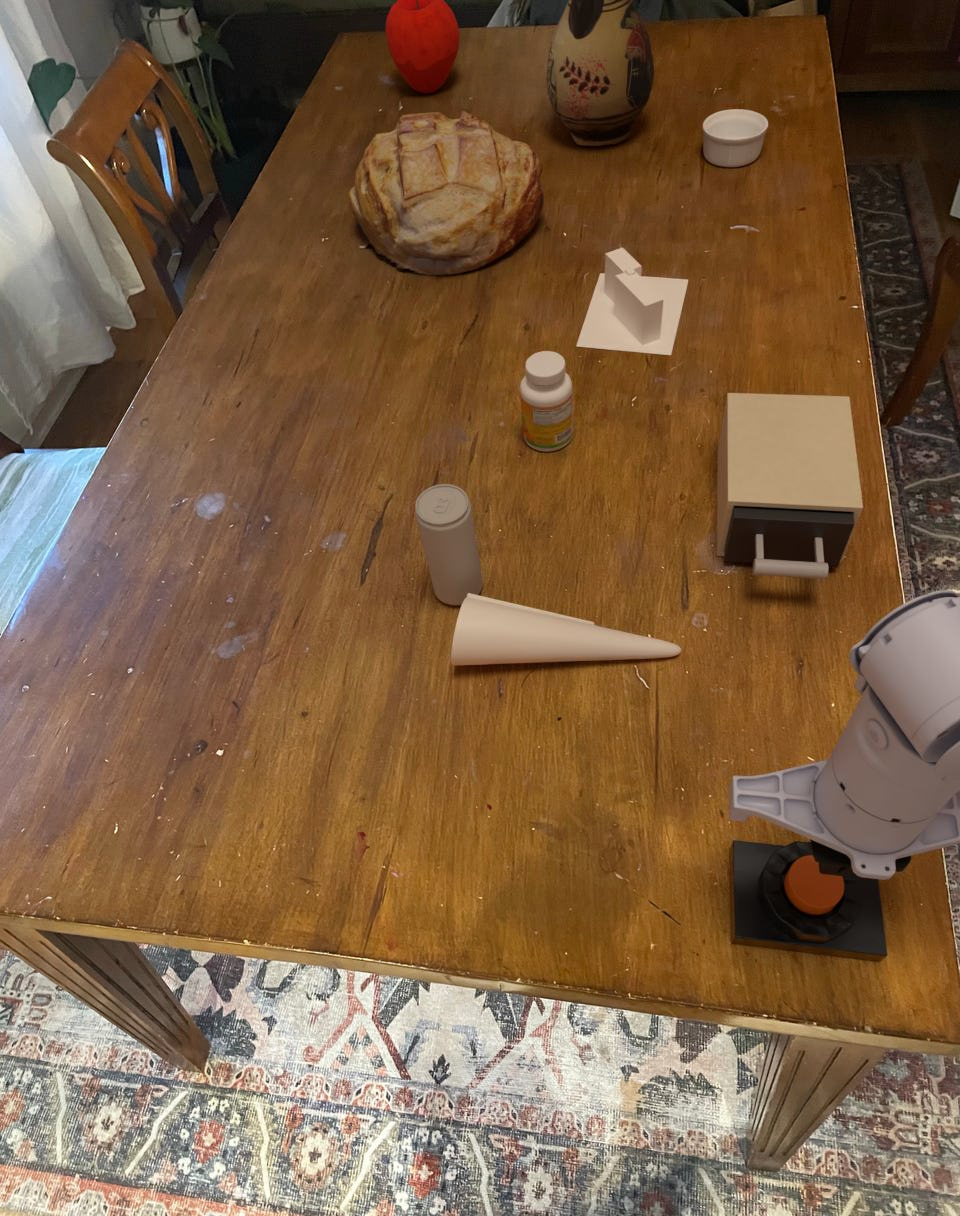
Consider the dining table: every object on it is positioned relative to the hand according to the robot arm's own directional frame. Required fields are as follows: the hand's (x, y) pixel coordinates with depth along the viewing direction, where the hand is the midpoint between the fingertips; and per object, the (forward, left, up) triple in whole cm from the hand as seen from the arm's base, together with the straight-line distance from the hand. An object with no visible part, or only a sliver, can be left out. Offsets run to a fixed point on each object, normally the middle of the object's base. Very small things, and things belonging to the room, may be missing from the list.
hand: (829, 859), depth 55 cm
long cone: (+25, -9, -9) cm, 28 cm away
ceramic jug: (+68, -93, -9) cm, 116 cm away
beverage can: (+38, -11, -9) cm, 41 cm away
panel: (0, 0, -9) cm, 9 cm away
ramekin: (+47, -95, -9) cm, 107 cm away
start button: (0, 0, -6) cm, 6 cm away
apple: (+102, -97, -9) cm, 141 cm away
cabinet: (+16, -35, -9) cm, 40 cm away
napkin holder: (+43, -57, -9) cm, 71 cm away
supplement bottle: (+41, -33, -9) cm, 54 cm away
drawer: (+15, -32, -8) cm, 36 cm away
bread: (+75, -63, -9) cm, 98 cm away
